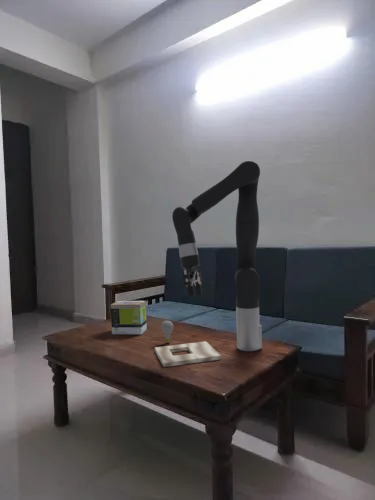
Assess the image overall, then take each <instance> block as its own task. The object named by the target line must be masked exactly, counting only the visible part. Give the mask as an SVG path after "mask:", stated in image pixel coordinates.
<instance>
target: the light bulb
mask: <svg viewBox="0 0 375 500" xmlns="http://www.w3.org/2000/svg"><path fill="white" fill-rule="evenodd" d="M160 330H161V331H162V333H163V335H164V340H165V343H166V344H169V343H171V334H172V333H173V331H174V324H173V322H172V321H170V320H164V321H162V322H161V325H160Z"/></svg>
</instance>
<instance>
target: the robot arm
mask: <svg viewBox="0 0 375 500" xmlns="http://www.w3.org/2000/svg"><path fill="white" fill-rule="evenodd" d="M260 175H261V169H260V166H259V165H258V163H257V162H256V161H254V160H244V161H243V162H241V163H240V164H239V165H238V166H237V167H236V168H235V169H234V170H233V171H232V172H231V173H229V174H227V176H226V177H224V178H223V179H222V180H220V181H219V182H218V183H215V184H214V185H213V186H212V187H209V188H208V189H207V190H205V191H204V192H202V193H200V194H199V195H198V196H196V197H194V198H193V199H192V200H191V203H190V204H188V205H187V207H184V206H177V207H176V208H175V209H173V211H172V215H171V216H172V223H173V226H174V229H175V233H176V236H177V243H178V253H179V260H180V266H181V269H183V270H181V271H182V280H183V284H184V286H186V287H187V294H188V296H189V297H194V296H195V292H196V296H200V295H201V296H202V295H203V291H202V284H204V283H203V277H202V271H201V269H197V267H199V266H201V263H200V262H201V261H200V257H199V251H198V246H197V242H196V237H195V233H194V230H193V229H192V225H191V224H193V223H194V222H195V221H196V220H197V219H198V218H200V216H202V215H203V214H204V213H206V212H207V211H210V210H211V209H212V208H213V207H215V206H216V205H218V204H219V203H220V202H221V201H223V200H224V199H225V198H226V197H228V196H229V195H230V194H232V193H233V192H235V191H236V190H238V202H237V208H236V215H235V241H236V265H235V272H234V280H235V290H236V291H235V293H236V294H235V295H236V297H235V313H236V315H235V316H236V317H235V319H236V348H237V350H240V351H242V352H256V351H258V350H261V349H263V341H262V340H263V339H262V338H263V336H262V335H263V334H262V331H263V330H262V324H260V295H261V294H260V293H261V292H260V287H261V286H260V276H259V273H258V272H257V270H256V251H257V246H258V240H259V233H260V217H259V216H260V215H259V207H258V206H259V205H258V198H257V197H258V195H257V194H258V185H259V181H260ZM194 287H195V288H194ZM194 289H195V291H194Z"/></svg>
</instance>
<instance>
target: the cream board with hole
mask: <svg viewBox="0 0 375 500" xmlns="http://www.w3.org/2000/svg"><path fill="white" fill-rule="evenodd" d="M187 351H188V352H189V353H186V354H185V353H183V354H178V355H177V354H176V355H173V353H179V352H187ZM154 352H155V354H156V356H157V358H158V359H159V361H160V363H161V365H162V367H163V368H166V367H167V368H168V367H175V366H182V365H188V364H189V365H191V364H196V363H197V364H198V363H205V362H211V361H219V360H221V359H222V355H221V354H220V353H219V351H217V350H216V349H215V348H213V346H211V344H209V342H207V341H198V342H196V341H195V342H189V343H181V344H174V345H164V346H156V347H154Z"/></svg>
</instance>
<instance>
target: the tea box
mask: <svg viewBox="0 0 375 500" xmlns="http://www.w3.org/2000/svg"><path fill="white" fill-rule="evenodd" d="M146 304H147V303H146V300H117V301H115V302H113V303H111V304H109V305H110V308H109V309H110V322H111V323H110V325H111V334H112V335H142V334H143V333H144V332H146V331H147V328H148V327H147V326H148V325H147V323H148V322H147V308H146V307H147V306H146Z"/></svg>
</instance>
